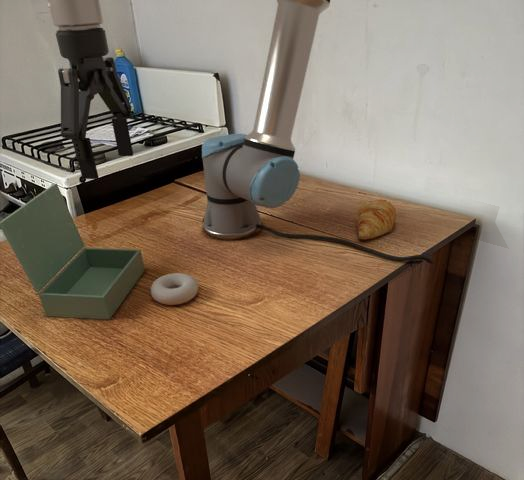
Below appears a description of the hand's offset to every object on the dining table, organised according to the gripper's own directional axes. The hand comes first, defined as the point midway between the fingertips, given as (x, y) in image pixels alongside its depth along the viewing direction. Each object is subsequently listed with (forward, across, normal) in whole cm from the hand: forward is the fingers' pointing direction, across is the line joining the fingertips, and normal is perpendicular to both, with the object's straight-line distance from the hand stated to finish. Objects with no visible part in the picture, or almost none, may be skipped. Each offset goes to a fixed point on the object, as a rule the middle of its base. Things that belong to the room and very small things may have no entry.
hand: (109, 166), depth 91 cm
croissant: (+27, -42, +47) cm, 69 cm away
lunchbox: (+27, 0, -9) cm, 28 cm away
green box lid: (+14, +1, -17) cm, 22 cm away
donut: (+27, -1, +8) cm, 28 cm away
